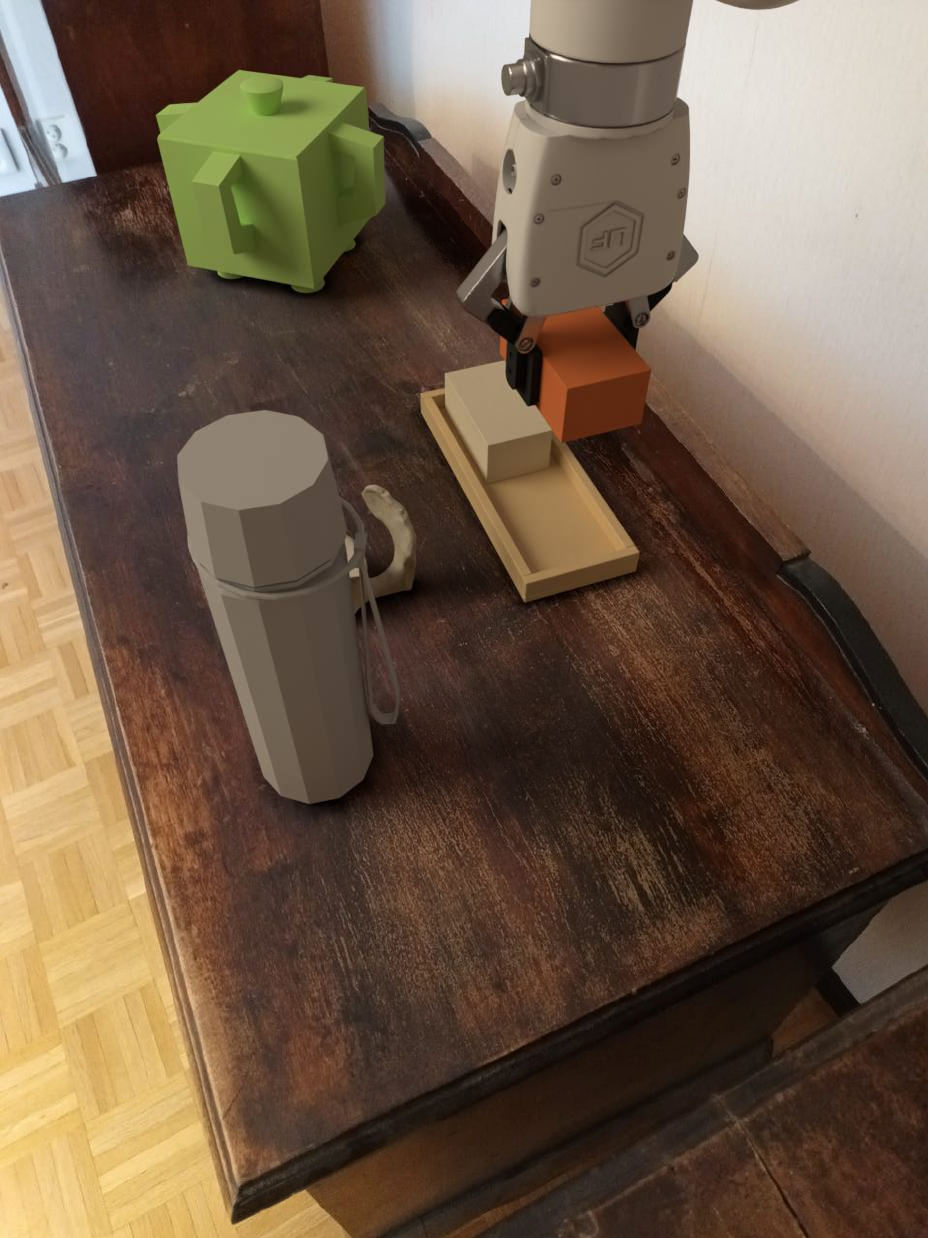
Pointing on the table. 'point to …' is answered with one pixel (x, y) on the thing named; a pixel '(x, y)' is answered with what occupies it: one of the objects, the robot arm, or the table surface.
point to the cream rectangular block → (496, 423)
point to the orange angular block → (588, 375)
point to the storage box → (272, 176)
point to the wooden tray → (539, 516)
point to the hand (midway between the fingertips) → (568, 380)
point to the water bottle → (285, 597)
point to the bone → (404, 542)
